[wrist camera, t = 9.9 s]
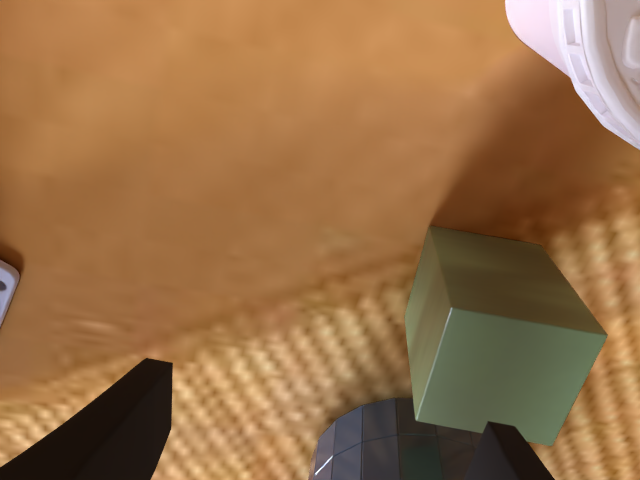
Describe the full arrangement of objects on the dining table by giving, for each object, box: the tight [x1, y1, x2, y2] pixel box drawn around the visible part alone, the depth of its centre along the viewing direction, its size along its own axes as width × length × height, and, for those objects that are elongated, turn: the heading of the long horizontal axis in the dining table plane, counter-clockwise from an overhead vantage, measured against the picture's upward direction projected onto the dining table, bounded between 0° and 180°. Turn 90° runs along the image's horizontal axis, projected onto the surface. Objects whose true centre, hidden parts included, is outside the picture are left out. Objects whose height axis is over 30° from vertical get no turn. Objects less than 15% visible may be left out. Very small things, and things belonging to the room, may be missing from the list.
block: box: [404, 226, 607, 446], centre depth 17 cm, size 4×4×6 cm
